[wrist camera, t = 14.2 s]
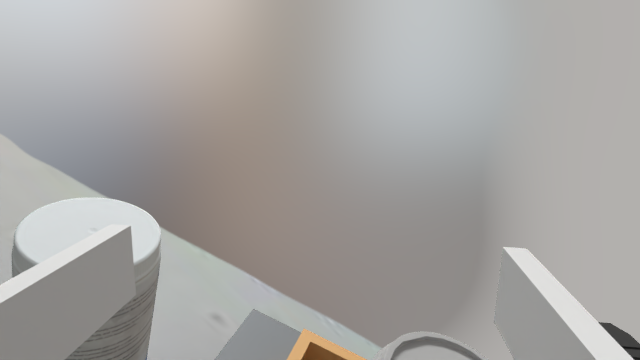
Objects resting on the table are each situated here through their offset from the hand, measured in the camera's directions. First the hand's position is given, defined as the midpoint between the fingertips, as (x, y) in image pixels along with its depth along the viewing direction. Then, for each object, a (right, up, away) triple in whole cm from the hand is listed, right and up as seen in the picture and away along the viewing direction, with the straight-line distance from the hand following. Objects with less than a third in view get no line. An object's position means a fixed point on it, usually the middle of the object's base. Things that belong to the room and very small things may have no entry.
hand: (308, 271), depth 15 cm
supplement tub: (-20, -13, +22) cm, 32 cm away
